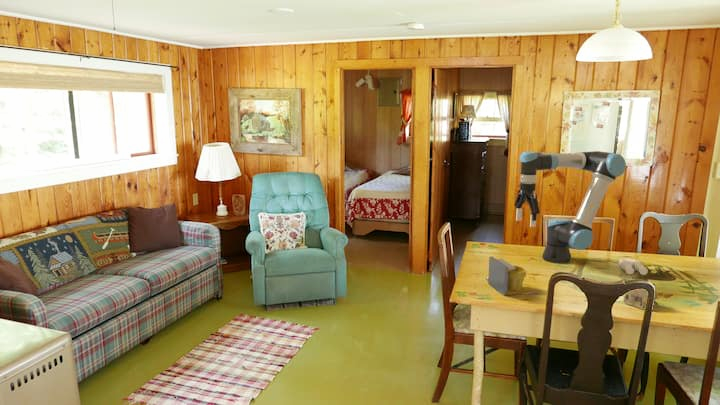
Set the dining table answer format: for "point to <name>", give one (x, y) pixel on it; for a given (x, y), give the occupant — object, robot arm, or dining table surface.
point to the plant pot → (516, 278)
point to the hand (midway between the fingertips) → (525, 223)
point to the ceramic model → (639, 299)
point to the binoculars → (632, 266)
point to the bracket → (501, 276)
